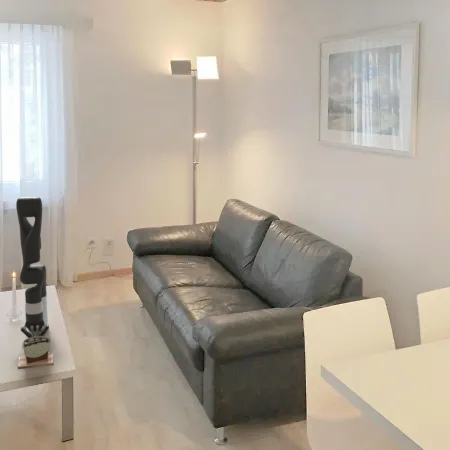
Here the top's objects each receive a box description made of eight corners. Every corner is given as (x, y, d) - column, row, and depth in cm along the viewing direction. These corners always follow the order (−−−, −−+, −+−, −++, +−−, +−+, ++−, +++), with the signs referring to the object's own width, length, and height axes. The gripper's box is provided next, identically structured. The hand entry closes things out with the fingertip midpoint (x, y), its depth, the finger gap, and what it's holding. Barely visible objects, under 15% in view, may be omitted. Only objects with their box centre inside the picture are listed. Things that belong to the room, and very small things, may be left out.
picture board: (18, 357, 264) (18, 355, 263) (52, 354, 268) (52, 352, 268) (18, 368, 253) (18, 367, 253) (53, 364, 258) (53, 363, 258)
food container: (46, 353, 267) (46, 333, 264) (51, 358, 262) (50, 338, 260) (19, 359, 260) (18, 339, 258) (23, 365, 255) (22, 344, 253)
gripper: (18, 314, 258) (20, 350, 262) (49, 312, 262) (50, 347, 266) (18, 308, 265) (20, 343, 269) (49, 306, 268) (50, 340, 273)
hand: (35, 345), depth 267 cm, fingers closed
